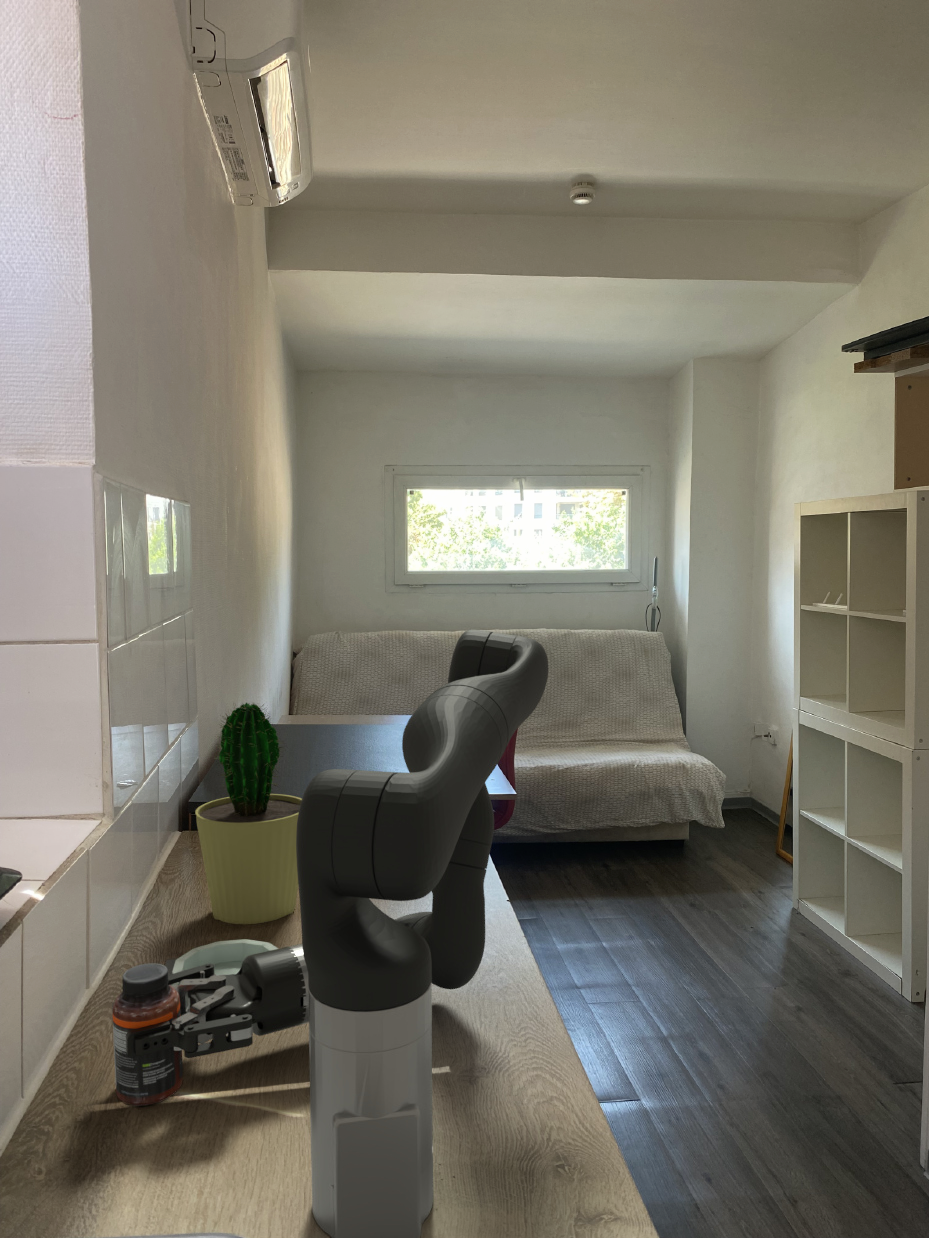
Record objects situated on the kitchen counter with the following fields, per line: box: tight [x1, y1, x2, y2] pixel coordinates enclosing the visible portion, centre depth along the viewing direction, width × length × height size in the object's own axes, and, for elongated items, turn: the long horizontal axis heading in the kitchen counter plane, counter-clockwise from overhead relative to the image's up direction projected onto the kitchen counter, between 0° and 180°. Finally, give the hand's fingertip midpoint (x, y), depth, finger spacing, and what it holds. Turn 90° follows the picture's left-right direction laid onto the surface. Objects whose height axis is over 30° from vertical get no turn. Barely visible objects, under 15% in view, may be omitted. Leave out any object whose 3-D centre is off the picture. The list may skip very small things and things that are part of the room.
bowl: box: [172, 938, 279, 1006], centre depth 105 cm, size 12×12×3 cm
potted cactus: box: [194, 701, 303, 925], centre depth 128 cm, size 15×15×30 cm
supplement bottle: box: [112, 962, 184, 1107], centre depth 85 cm, size 6×6×11 cm
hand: (120, 1028), depth 84 cm, fingers closed on supplement bottle, 6 cm apart
